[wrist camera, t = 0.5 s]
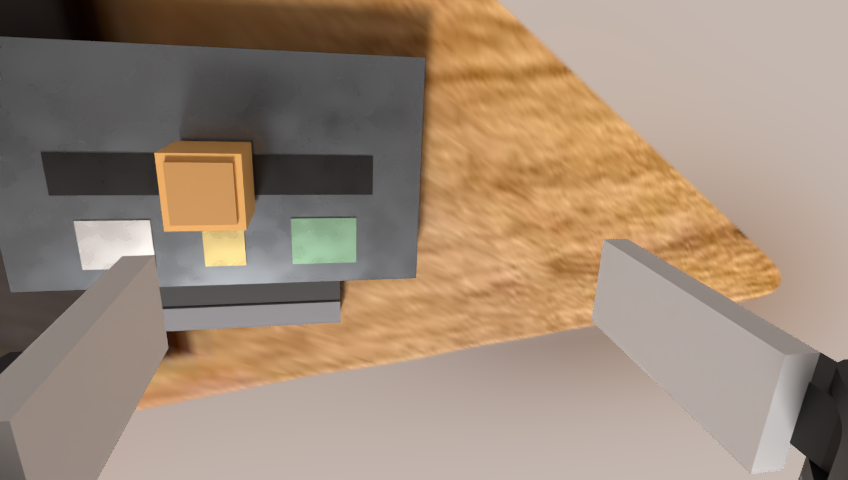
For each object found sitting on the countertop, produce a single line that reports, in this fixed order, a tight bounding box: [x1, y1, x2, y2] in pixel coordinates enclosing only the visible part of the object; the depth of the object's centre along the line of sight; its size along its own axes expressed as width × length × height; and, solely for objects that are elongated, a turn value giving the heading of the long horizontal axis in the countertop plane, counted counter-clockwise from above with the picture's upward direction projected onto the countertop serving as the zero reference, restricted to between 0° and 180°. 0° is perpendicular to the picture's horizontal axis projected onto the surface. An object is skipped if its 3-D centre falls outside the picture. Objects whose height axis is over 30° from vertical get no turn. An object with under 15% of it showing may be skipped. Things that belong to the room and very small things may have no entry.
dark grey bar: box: [159, 281, 340, 307], centre depth 35 cm, size 14×2×2 cm, turn 88°
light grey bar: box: [162, 299, 340, 331], centre depth 35 cm, size 14×2×2 cm, turn 88°
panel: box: [0, 37, 425, 292], centre depth 31 cm, size 24×14×3 cm, turn 88°
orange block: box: [154, 141, 255, 232], centre depth 28 cm, size 4×4×4 cm
